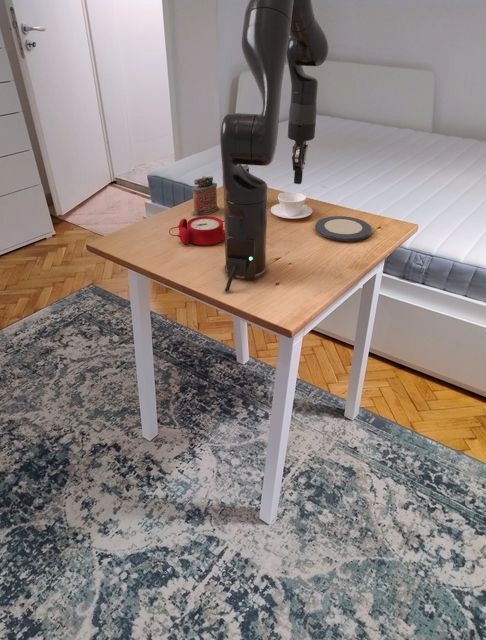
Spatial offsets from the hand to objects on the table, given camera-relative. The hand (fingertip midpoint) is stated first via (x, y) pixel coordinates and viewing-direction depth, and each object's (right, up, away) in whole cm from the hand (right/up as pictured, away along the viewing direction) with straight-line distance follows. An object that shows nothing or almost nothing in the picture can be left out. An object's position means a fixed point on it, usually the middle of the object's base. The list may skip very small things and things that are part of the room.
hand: (297, 183), depth 143 cm
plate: (+11, -18, -13) cm, 24 cm away
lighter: (-27, -9, -2) cm, 29 cm away
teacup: (-2, -11, -4) cm, 12 cm away
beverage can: (-17, -6, +2) cm, 19 cm away
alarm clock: (-28, -21, -17) cm, 38 cm away
